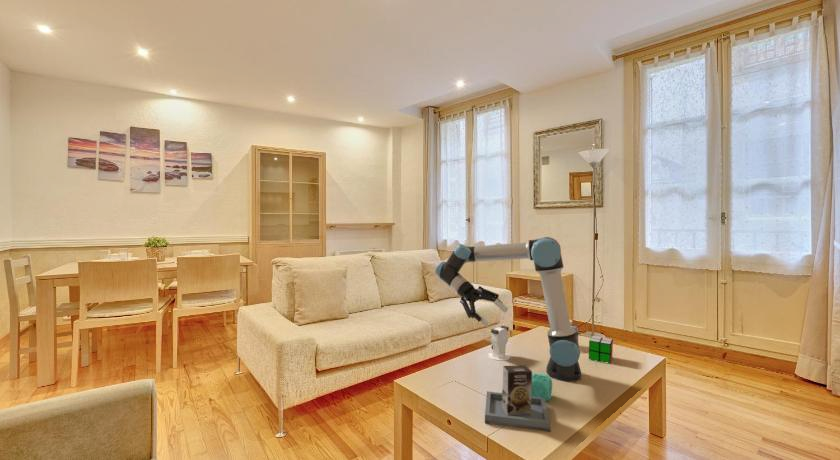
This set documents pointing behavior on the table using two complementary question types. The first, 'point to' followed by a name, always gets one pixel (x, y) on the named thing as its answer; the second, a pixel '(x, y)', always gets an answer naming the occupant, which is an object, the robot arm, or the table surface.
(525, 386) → the coffee box
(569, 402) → the table surface
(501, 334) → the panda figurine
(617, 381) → the table surface
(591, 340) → the puzzle cube
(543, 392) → the decorative dice
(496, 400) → the tray
